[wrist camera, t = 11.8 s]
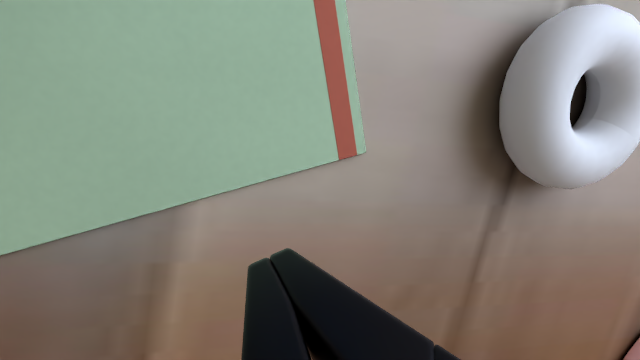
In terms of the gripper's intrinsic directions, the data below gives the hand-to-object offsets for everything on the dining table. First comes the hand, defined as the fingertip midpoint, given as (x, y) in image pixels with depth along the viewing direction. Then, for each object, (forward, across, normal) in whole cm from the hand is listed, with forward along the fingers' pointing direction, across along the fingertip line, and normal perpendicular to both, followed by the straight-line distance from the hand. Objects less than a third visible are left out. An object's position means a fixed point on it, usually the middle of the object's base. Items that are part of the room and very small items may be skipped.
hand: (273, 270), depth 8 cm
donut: (+10, -19, +7) cm, 23 cm away
